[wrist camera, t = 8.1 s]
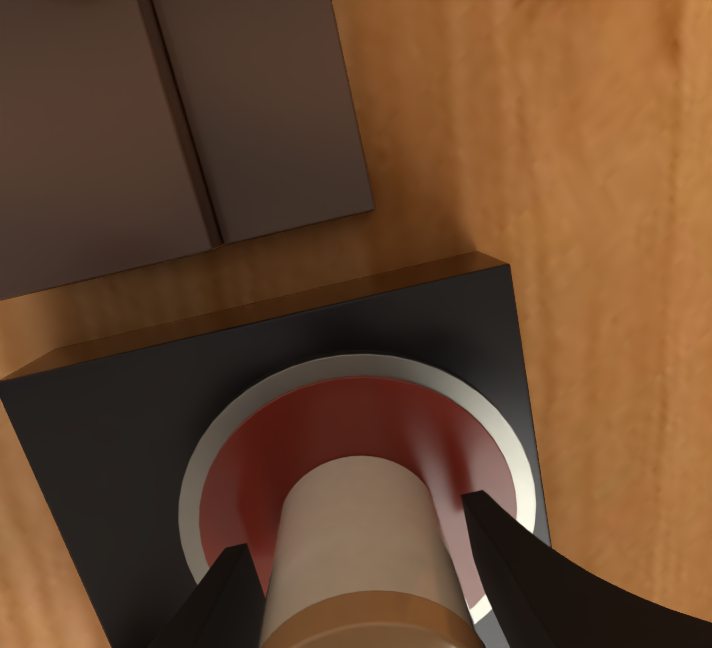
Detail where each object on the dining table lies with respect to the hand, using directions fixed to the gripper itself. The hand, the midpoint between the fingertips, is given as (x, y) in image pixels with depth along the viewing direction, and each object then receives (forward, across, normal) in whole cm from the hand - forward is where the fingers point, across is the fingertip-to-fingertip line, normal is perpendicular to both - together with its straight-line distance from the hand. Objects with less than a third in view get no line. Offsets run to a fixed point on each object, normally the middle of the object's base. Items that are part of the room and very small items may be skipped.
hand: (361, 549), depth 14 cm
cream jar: (+1, 0, 0) cm, 1 cm away
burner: (+1, 0, 0) cm, 1 cm away
